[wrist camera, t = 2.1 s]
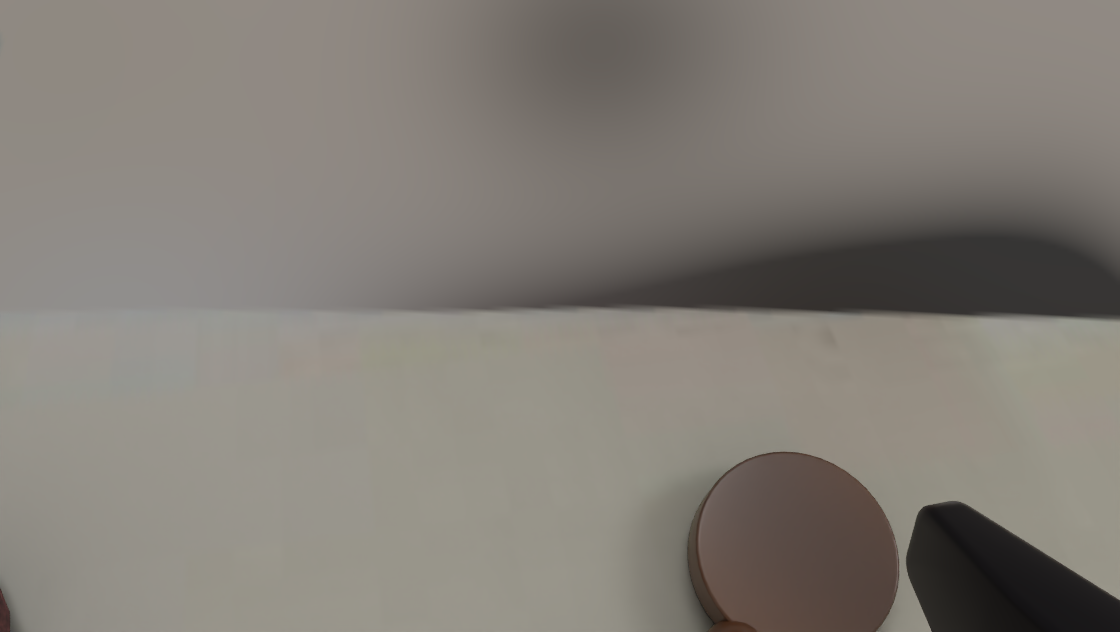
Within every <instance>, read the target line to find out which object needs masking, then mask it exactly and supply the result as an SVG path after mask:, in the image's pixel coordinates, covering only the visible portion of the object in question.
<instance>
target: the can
mask: <svg viewBox="0 0 1120 632" xmlns="http://www.w3.org/2000/svg"><path fill="white" fill-rule="evenodd" d="M0 632H10V612H9V609H8V607H7V604H6V602H5V599H4V597H3V595H2V592H1V590H0Z"/></svg>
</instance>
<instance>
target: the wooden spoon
mask: <svg viewBox="0 0 1120 632" xmlns="http://www.w3.org/2000/svg"><path fill="white" fill-rule="evenodd" d="M688 563H689V570H690V575H691V579H692V582H693V586H694V589H695V591H696V593H697V596H698V598H699V600H700V602H701V604H702V606H703V607H704V609H705V611H706V612H707V614H708V615H709V617H710V618H711V619H712V621H713V622H714V623H715V624H714V625H713V626H712V627H711V628H710V629H709V630H708V632H876V631H877V629H878V628H879V627H880V626H881V625H882V623H883V622H884V620H885V619H886V617H887V615H888V614H889V612H890V609H891V607H892V605H893V602H894V599H895V596H896V592H897V588H898V580H899V558H898V550H897V545H896V541H895V537H894V534H893V531H892V529H891V526H890V524H889V521H888V519H887V518H886V516H885V514H884V512H883V510H882V508H881V507H880V506H879V504H878V503H877V501H876V500H875V498H874V497H873V496H872V495H871V494H870V492H869V491H868V490H867V489H866V488H865V487H864V486H863V485H862V484H861V483H860V482H859V481H858V480H857V479H855V478H854V477H853V476H851V475H850V474H849V473H847V472H846V471H845V470H843V469H841V468H839V467H838V466H836V465H834V464H832V463H830V462H828V461H825V460H823V459H821V458H818V457H814V456H811V455H807V454H802V453H796V452H773V453H767V454H762V455H758V456H755V457H752V458H749V459H747V460H745V461H743V462H741V463H739V464H737V465H736V466H734V467H733V468H731V469H730V470H729V471H727V472H726V473H725V474H724V475H723V476H722V477H721V478H720V479H719V480H718V481H717V482H716V483H715V485H714V486H713V487H712V489H711V490H710V491H709V493H708V494H707V495H706V497H705V498H704V499H703V501H702V502H701V504H700V506H699V508H698V510H697V511H696V514H695V516H694V519H693V522H692V525H691V529H690V533H689V541H688Z"/></svg>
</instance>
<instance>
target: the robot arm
mask: <svg viewBox="0 0 1120 632" xmlns="http://www.w3.org/2000/svg"><path fill="white" fill-rule="evenodd" d="M906 566H907V572H908V576H909V579H910V581H911V584H912V586H913V588H914V591H915V593H916V595H917V598H918V600H919V602H920V605H921V607H922V609H923V612H924V614H925V616H926V619H927V621H928V623H929V626H930V628H931V631H932V632H1120V600H1118V599H1117V598H1115V597H1114V596H1112V595H1110V594H1109V593H1107V592H1106V591H1104V590H1102V589H1101V588H1099V587H1098V586H1096V585H1094V584H1093V583H1091V582H1090V581H1088V580H1086V579H1085V578H1083V577H1082V576H1080V575H1078V574H1077V573H1075V572H1074V571H1072V570H1070V569H1069V568H1067V567H1066V566H1064V565H1062V564H1061V563H1059V562H1058V561H1056V560H1054V559H1053V558H1051V557H1050V556H1048V555H1046V554H1045V553H1043V552H1042V551H1040V550H1038V549H1037V548H1035V547H1034V546H1032V545H1030V544H1029V543H1027V542H1026V541H1024V540H1022V539H1021V538H1019V537H1018V536H1016V535H1014V534H1013V533H1011V532H1010V531H1008V530H1006V529H1005V528H1003V527H1002V526H1000V525H998V524H997V523H995V522H994V521H992V520H990V519H989V518H987V517H986V516H984V515H982V514H981V513H979V512H978V511H976V510H974V509H973V508H971V507H970V506H968V505H966V504H964V503H961V502H958V501H949V502H944V503H938V504H933V505H928V506H925V507H923V508H922V509H921V510H920V511H919V513H918V515H917V518H916V522H915V526H914V529H913V533H912V537H911V540H910V544H909V548H908V552H907V556H906Z"/></svg>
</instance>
